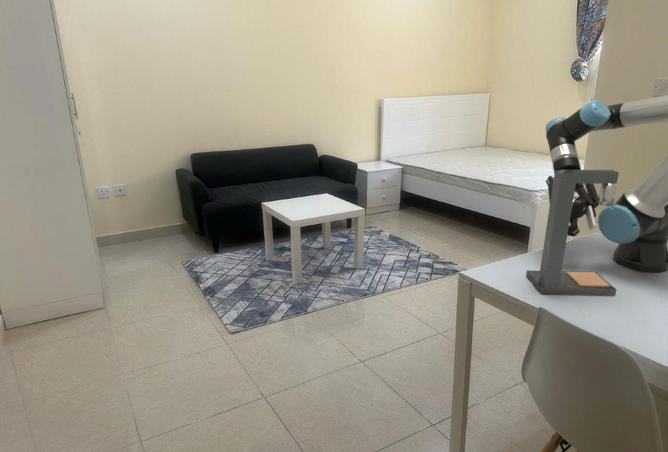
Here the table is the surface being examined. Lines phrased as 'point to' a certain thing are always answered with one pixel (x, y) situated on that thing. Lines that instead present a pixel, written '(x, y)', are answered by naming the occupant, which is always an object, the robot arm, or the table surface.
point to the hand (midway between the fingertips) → (579, 227)
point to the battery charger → (577, 214)
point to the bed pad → (588, 279)
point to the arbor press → (560, 208)
